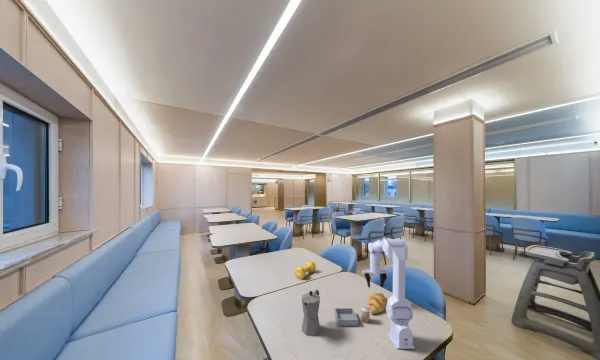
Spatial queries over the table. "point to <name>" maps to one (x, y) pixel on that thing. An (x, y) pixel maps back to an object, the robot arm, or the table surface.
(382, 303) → the croissant
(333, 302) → the table surface
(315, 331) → the coffeepot
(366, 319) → the shaker
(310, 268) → the dumbbell
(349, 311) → the bin
